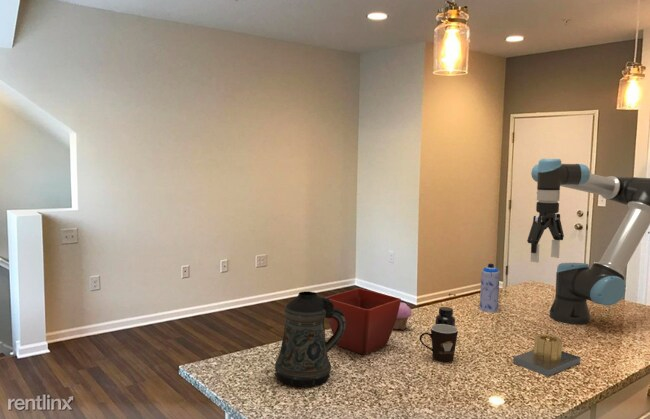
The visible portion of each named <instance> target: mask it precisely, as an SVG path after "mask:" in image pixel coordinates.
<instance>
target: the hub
mask: <svg viewBox="0 0 650 419" xmlns="http://www.w3.org/2000/svg"><path fill="white" fill-rule="evenodd" d="M533 350H534V357H535V358H537V359H539V360H542V361H547V362H558V361H561V352H562V351H563V339H562V338H560V337H558V336H555V335H553V334H545V333H543V334H536V335H534V341H533Z"/></svg>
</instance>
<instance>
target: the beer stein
mask: <svg viewBox="0 0 650 419" xmlns="http://www.w3.org/2000/svg"><path fill="white" fill-rule="evenodd" d="M283 311H284V315H285V322H284V323H285V324H284V328H283V336H282V340H281V346H280V349H279V353H278V357H277V359H276V361H275V364H274V369H275V374H276V379H277V382H278V383H280V384H283V385H285V386H286V387H292V388H295V389H306V388H307V389H308V388H309V389H311V388H315V387H318V386H322V385H323V384H326V383H327V382H328V380H329V378H330V374H331V370H332V365H331V361H330V360H329V357H328V352H330V351H331V350H333V348H334V347H335V346H336V345H337V343H338V341H339V340H340V339H341V337H342V335H343V333H344V331H345V325H346V323H345V318H344V314H343V312H342V311H340V310H339V309H338V308H333V303H332V302H331V300H330V299H328V298H325V297H321V296H319V295H318V293H317V292H315V291H300V292H299V293H298V295H297V296H296V297H294V299H292V300H291V301H289V302H288V303H287V304H286V305H285V306H284V309H283ZM328 318H334V319H336V321H337V323H338V327H337V329H336V331H335V333H334V334H333V333H332V335H331V336H330V337H329V339H328V340H327V341H326V332H325V330H326V329H325V319H328Z"/></svg>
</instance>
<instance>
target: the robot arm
mask: <svg viewBox="0 0 650 419" xmlns="http://www.w3.org/2000/svg"><path fill="white" fill-rule="evenodd" d="M530 174H531V175H530V176H531V178H532V180H534V182H537V185H536V188H537V189H536V190H537V191H536V203H535V204H536V206H535V210H536V212H537V213H538V215H533V218H532V220H533V221H532V225H531V227H530V230H529V234H528V237H527V240H526V241H527V243H528V244H530V262H533V263H540V262H539V261H540V247H541V246H540V245H541V244H540V240H541V238H542V236H543V234H544V231H545V230H547V229H548V230H549V232H550V234H551V237H552V239H551V248H550V250H551V251H550V257H551V258H555V259H559V258H560V248H561V246H560V244H561V241H563V240H564V238H565V236H564V231H563V226H562V221H561V214H560V213H559V211H560V203H559V201H560V195H561V194H560V193H561V192H560V190H561V187H563V188H568V189H571V190H572V189H573V190H576V191H581V192H586V193H590V194H594V195H599V196H600V197H601V198H603V199H606V200H609V201H613V202H616V203H619V204H622V205H626V206H627V208H628V211H627V213H626V215H625V216H624V217H623V220H622V222H621V223H620V225H619V227H618V228H617V230H616V233H615V234H614V236H613V237H612V239H611V241H610V243H609V244H608V246H607V248H606V250H605V251H604V253H603V255H602V257H601V258H600V260H599V261H596V262H593V264H592V265H591V267H590V264H589V263H586V262H585V263H583V262H561V263H559V264H558V265H557V269H556V272H555V274H556V275H555V295H554V297H555V298H554V299H553V300H554V301H553V302H552V305H551V307H550V309H549V318H551V319H552V320H555V321H558V322H560V323H565V324H573V325H585V324H590V322H591V318H592V317H591V312H590V309H589V305H588V302H587V301H591V302H593V303H595V304H597V305H603V306H606V307H607V306H608V307H609V306H613V305H615V304H617V303H619V302H620V301H621V300H622V299H623V298H624V296H625V293H626V282H625V279H626V277H625V273H624V271H625V270H626V267H627V266H628V264H629V262H630V261H631V259H632V257H633V255H634V253H635V251H636V250H637V248H638V246H639V244H640V242H641V241H642V239H643V237H644V235H645V234H646V232H647V230H648V229H649V226H650V178H649V177H629V176H628V177H626V176H625V177H624V176H623V177H622V176H614V175H610V176H609V175H608V176H603V175H598V174H595V173H591V171H590V168H589V167H588V166H587V165H586V164H583V163H562V160H561V159H560V158H541V159H539V161H538V163H537V164H535V165H534V166H533V168H531V173H530Z"/></svg>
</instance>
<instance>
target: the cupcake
mask: <svg viewBox="0 0 650 419" xmlns="http://www.w3.org/2000/svg"><path fill="white" fill-rule="evenodd" d="M410 317H412V309H411V307H410V306H409V305H407V303H405V302H400V307H399V311H398V315H397V318H396V322H395V325H394V328H393V329H394V330H403V331H404V330H405V328H406V326H407V323H408V319H409V318H410Z"/></svg>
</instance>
